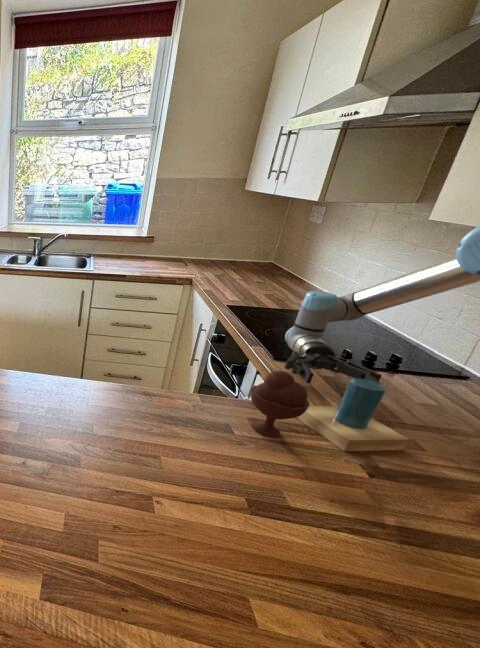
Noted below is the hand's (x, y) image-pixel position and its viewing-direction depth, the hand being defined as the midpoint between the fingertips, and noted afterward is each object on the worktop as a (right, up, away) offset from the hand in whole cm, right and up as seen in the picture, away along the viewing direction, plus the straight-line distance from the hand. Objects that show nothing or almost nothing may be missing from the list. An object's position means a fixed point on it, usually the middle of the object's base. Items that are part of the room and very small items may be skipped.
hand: (343, 384), depth 100 cm
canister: (-4, -8, -6) cm, 11 cm away
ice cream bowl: (-23, -11, -5) cm, 26 cm away
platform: (-4, -11, -4) cm, 13 cm away
